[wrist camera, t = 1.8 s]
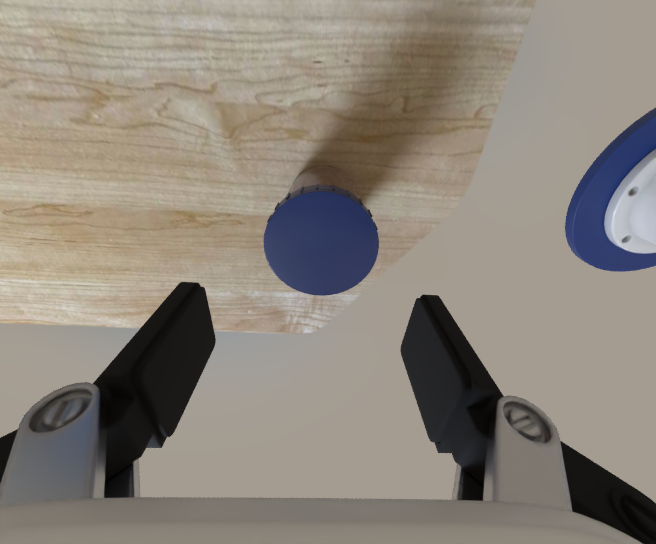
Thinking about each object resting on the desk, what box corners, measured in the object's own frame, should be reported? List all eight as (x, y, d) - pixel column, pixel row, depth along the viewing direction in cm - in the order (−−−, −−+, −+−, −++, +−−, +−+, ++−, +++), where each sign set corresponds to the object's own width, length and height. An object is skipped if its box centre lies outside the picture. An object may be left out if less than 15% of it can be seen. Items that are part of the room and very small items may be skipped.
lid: (384, 187, 15) (390, 195, 14) (366, 285, 19) (369, 299, 17) (265, 178, 15) (258, 185, 13) (270, 279, 18) (265, 293, 17)
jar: (362, 168, 22) (382, 198, 14) (352, 236, 26) (364, 291, 17) (288, 162, 22) (266, 189, 14) (288, 231, 25) (271, 285, 17)
